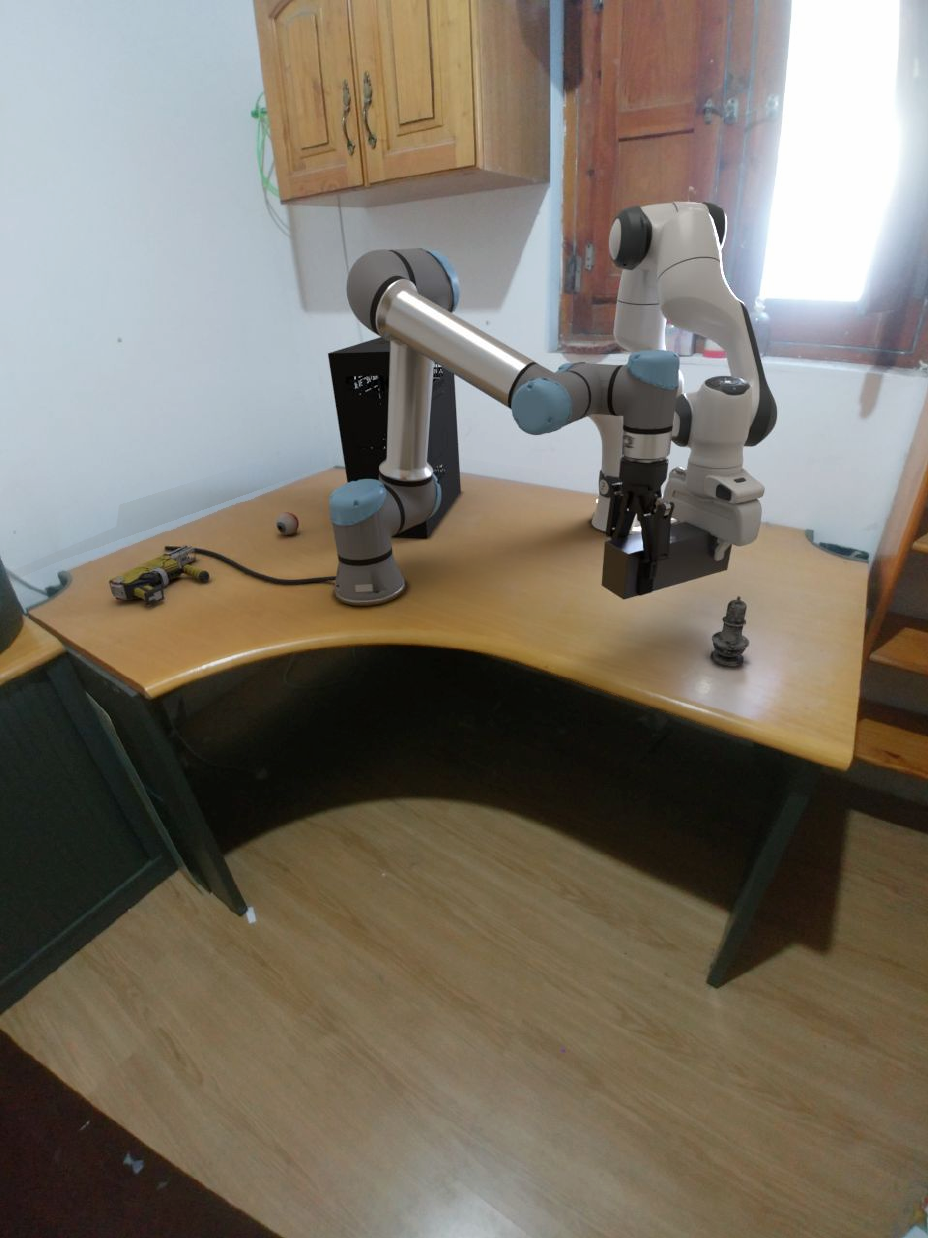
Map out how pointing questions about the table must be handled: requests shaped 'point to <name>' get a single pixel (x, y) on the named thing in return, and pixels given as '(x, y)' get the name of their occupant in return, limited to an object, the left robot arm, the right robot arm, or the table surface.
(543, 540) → the table surface
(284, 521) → the eyeball
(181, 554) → the toy gun
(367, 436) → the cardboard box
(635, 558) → the box
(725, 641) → the dark grey chess piece
